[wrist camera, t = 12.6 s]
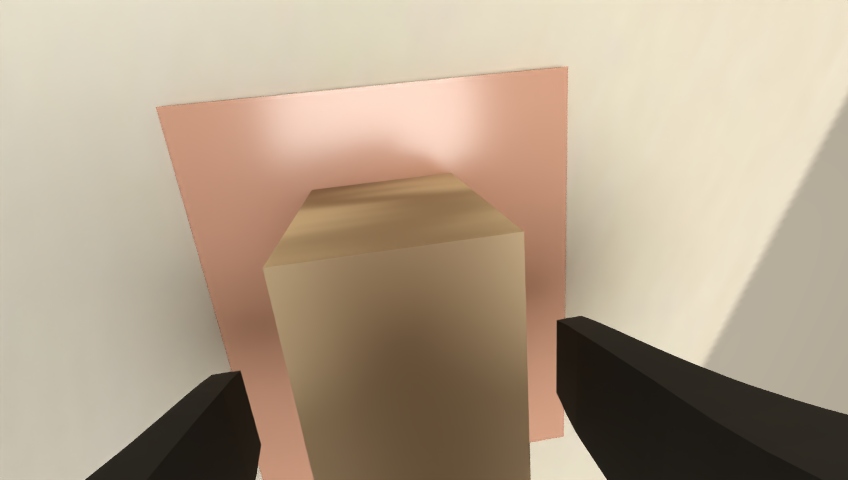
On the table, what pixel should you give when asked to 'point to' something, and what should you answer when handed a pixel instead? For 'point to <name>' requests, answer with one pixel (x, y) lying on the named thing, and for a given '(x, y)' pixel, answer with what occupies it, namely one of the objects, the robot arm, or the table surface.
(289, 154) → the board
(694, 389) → the robot arm
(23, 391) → the table surface
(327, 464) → the oak block
